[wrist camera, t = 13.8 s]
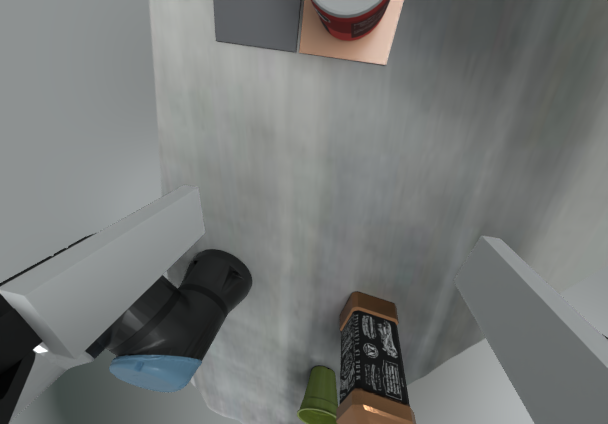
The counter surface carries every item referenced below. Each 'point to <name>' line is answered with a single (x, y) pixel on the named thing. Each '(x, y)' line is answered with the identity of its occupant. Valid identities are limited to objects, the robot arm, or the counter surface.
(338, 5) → the canned food
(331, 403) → the plant pot
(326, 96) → the counter surface
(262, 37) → the charcoal mat
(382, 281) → the counter surface
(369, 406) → the whiskey bottle
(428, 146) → the counter surface
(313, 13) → the terracotta tile
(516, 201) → the counter surface
